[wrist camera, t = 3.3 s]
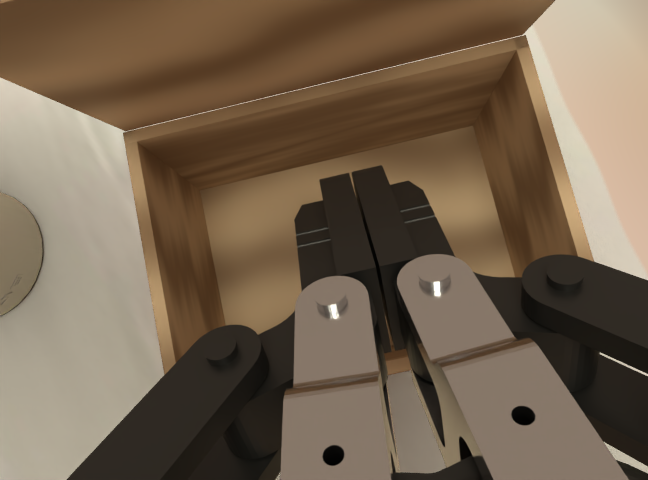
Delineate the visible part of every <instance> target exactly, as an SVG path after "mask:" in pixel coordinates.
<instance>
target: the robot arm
mask: <svg viewBox="0 0 648 480" xmlns="http://www.w3.org/2000/svg"><path fill="white" fill-rule="evenodd" d="M352 179H353V184H354V188H353V185H352V181H351V177H350V174H349V173H345V174H340V175H336V176H332V177H327V178H323V179H319V182H320V187H321V192H322V198H323V200H321V201H317V202H312V203H308V204H304V205H301V207H300V209H299V211H298V213H297V215H296V217H295V219H294V222H295V231H296V241H297V251H298V261H299V270H300V280H301V290H302V292H301V293H300V295H299V296H298V298H297V301H296V304H295V311H294V312H293V313H292V314H291V315H290V316H289V317H288V318H287V319H286V320H284V321H283V322H282V323H280V324H278V325H276V326H275V327H273V328H271V329H269V330H267V331H264V332H262V333H260V334H257V333H256V332H255V331H254V330H253V329H251V328H249V327H247V326H243V325H226V326H222V327H218V328H216V329H213V330H211V331H209V332H208V333H206V334H204V335H203V336H202V337H200V338H199V339H198V340H197V341H196V342H195V343H194V344H193V345H192V346H191V347H190V348H189V349H188V351H187V352H186V353H185V354H184V355H183V356H182V357H181V358H180V359H179V360H178V361H177V362H176V363H175V364H174V366H173V367H172V368H171V369H170V370H169V371H168V372H167V373H166V374H165V375H164V376H163V377H162V378H161V379H160V380H159V382H158V383H157V384H156V385H155V386H154V387H153V388H152V389H151V390H150V391H149V392H148V393H147V394H146V395H145V396H144V398H143V399H142V400H141V401H140V402H139V403H138V404H137V405H136V406H135V407H134V408H133V409H132V410H131V411H130V413H129V414H128V415H127V416H126V417H125V418H124V419H123V420H122V421H121V422H120V423H119V424H118V425H117V426H116V427H115V429H114V430H113V431H112V432H111V433H110V434H109V435H108V436H107V437H106V438H105V439H104V440H103V441H102V442H101V443H100V445H99V446H98V447H97V448H96V449H95V450H94V451H93V452H92V453H91V454H90V455H89V456H88V457H87V458H86V459H85V461H84V462H83V463H82V464H81V465H80V466H79V467H78V468H77V469H76V470H75V471H74V472H73V473H72V474H71V476H70V477H69V478H68V479H67V480H275V479H276V477H277V476H278V474H279V473H280V471H281V474H280V480H648V474H647V473H645V472H643V471H641V470H639V469H637V468H634V467H632V466H630V465H628V464H625V463H623V462H620V461H617V460H615V458H614V457H613V455H612V454H611V453H610V451H609V450H608V448H607V447H606V445H605V444H604V442H605V443H607V444H609V445H611V446H612V447H614V448H616V449H618V450H620V451H621V452H623V453H625V454H627V455H629V456H630V457H632V458H634V459H636V460H637V461H639V462H641V463H643V464H645V465H646V466H648V376H645V375H643V374H641V373H639V372H637V371H634V370H632V369H630V368H628V367H626V366H624V365H621V364H619V363H617V362H615V361H613V360H611V359H608V358H606V357H604V356H602V355H600V354H599V353H600V352H601V353H603V354H606V355H608V356H610V357H612V358H614V359H617V360H619V361H621V362H623V363H625V364H627V365H630V366H632V367H634V368H636V369H638V370H641V371H643V372H645V373H647V374H648V280H645V279H642V278H639V277H636V276H633V275H630V274H628V273H625V272H622V271H619V270H616V269H613V268H610V267H608V266H605V265H602V264H599V263H596V262H593V261H591V260H588V259H585V258H582V257H578V256H573V255H564V254H559V255H549V256H545V257H541V258H539V259H536V260H535V261H533V262H531V263H530V264H529V265H528V266H527V267H526V268H525V270H524V272H523V274H522V277H491V276H485V275H481V274H478V273H475V272H473V271H472V270H471V268H470V267H469V266H468V265H467V264H466V263H465V262H464V261H462V260H461V259H459V258H456V257H455V255H454V253H453V251H452V249H451V247H450V245H449V243H448V240H447V238H446V236H445V234H444V232H443V230H442V228H441V226H440V224H439V222H438V220H437V218H436V217H435V214H434V211H433V209H432V207H431V206H430V203H429V201H428V199H427V197H426V195H425V193H424V191H423V190H422V189H421V188H419V187H418V186H416V185H415V184H413V183H412V182H410V181H404V182H400V183H395V184H391V185H390V184H389V181H388V179H387V176H386V174H385V171H384V169H383V166H382V165H379V166H375V167H371V168H366V169H362V170H357V171H353V172H352ZM354 189H355V192H354ZM355 194H356V195H355ZM42 254H43V250H42V238H41V234H40V231H39V227H38V225H37V223H36V221H35V219H34V217H33V215H32V214H31V213H30V212H29V210H28V209H27V208H26V207H25V206H24V205H23V204H22V203H20V202H19V201H17V200H16V199H15V198H13V197H11V196H8V195H6V194H3V193H1V192H0V316H1V315H3V314H5V313H7V312H9V311H10V310H11V309H12V308H14V307H15V306H16V305H18V304H19V303H20V302H21V301H22V300H23V298H24V297H25V296H26V295H27V294H28V293H29V291H30V289H31V288H32V286H33V284H34V283H35V281H36V278H37V276H38V273H39V270H40V267H41V261H42ZM385 316H386V318H385ZM386 320H387V323H386ZM387 324H388V327H389V331H390V335H391V338H392V342H393V345H394V349H395V351H397V350H402V349H406V351H407V355H408V358H409V361H410V367H411V373H412V379H413V382H414V385H415V388H416V390H417V393H418V395H419V398H420V400H421V403H422V405H423V408H424V410H425V413H426V416H427V418H428V421H429V423H430V426H431V428H432V431H433V433H434V436H435V438H436V441H437V444H438V446H439V449H440V451H441V454H442V456H443V459H444V462H445V465H446V468H445V469H443V470H441V471H439V472H436V473H430V474H424V473H401V472H400V467H399V460H398V454H397V447H396V440H395V433H394V426H393V420H392V413H391V406H390V399H389V393H388V387H387V382H386V381H387V377H388V371H387V365H386V360H385V355H384V353H389V352H392V350H391V345H390V339H389V334H388V329H387Z"/></svg>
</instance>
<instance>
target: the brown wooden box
mask: <svg viewBox="0 0 648 480" xmlns="http://www.w3.org/2000/svg"><path fill="white" fill-rule="evenodd" d="M123 136H124V141H125V147H126V153H127V159H128V165H129V171H130V176H131V182H132V188H133V194H134V200H135V205H136V211H137V217H138V223H139V229H140V235H141V240H142V246H143V252H144V258H145V264H146V269H147V275H148V281H149V287H150V293H151V299H152V304H153V310H154V316H155V322H156V328H157V333H158V339H159V345H160V351H161V357H162V362H163V368H164V374H166V373H167V372H168V371H169V370H170V369H171V368H172V367H173V366H174V364H175V363H176V362H177V361H178V360H179V359H180V358H181V357H182V356H183V355H184V354H185V353H186V352H187V351H188V349H189V348H190V347H191V346H192V345H193V344H194V343H195V342H196V341H197V340H198V339H199V338H200V337H202V336H203V335H204V334H206V333H208V332H209V331H211V330H213V329H216V328H218V327H222V326H226V325H243V326H247V327H249V328H251V329H253V330H254V331H255V332H256V333H257V334H260V333H262V332H264V331H267V330H269V329H271V328H273V327H275V326H276V325H278V324H280V323H282V322H283V321H284V320H286V319H287V318H288V317H289V316H290V315H291V314H292V313H293V312H294V311H295V304H296V301H297V298H298V296H299V295H300V293H301V292H302V290H301V280H300V270H299V261H298V251H297V241H296V231H295V222H294V219H295V217H296V215H297V213H298V211H299V209H300V207H301V205H304V204H308V203H312V202H317V201H321V200H323V198H322V192H321V187H320V182H319V179H323V178H327V177H332V176H336V175H340V174H345V173H349V174H350V177H351V181H352V185H353V188H354V184H353V179H352V172H353V171H357V170H362V169H366V168H371V167H375V166H379V165H382V166H383V169H384V171H385V174H386V176H387V179H388V181H389V184H390V185H391V184H395V183H400V182H404V181H410V182H412V183H413V184H415V185H416V186H418V187H419V188H421V189H422V190H423V191H424V193H425V195H426V197H427V199H428V201H429V203H430V206H431V207H432V209H433V211H434V214H435V217H436V218H437V220H438V222H439V224H440V226H441V228H442V230H443V232H444V234H445V236H446V238H447V240H448V243H449V245H450V247H451V249H452V251H453V253H454V255H455V257H456V258H459V259H461V260H462V261H464V262H465V263H466V264H467V265H468V266H469V267H470V268H471V270H472V271H473V272H475V273H478V274H481V275H485V276H491V277H522V274H523V272H524V270H525V268H526V267H527V266H528V265H529V264H530V263H531V262H533V261H535V260H536V259H539V258H541V257H545V256H549V255H559V254H564V255H573V256H578V257H582V258H585V259H588V260H591V261H593V262H594V260H593V257H592V253H591V250H590V247H589V243H588V240H587V237H586V233H585V230H584V227H583V223H582V220H581V217H580V214H579V210H578V207H577V204H576V200H575V197H574V194H573V190H572V187H571V184H570V180H569V177H568V174H567V170H566V167H565V164H564V160H563V157H562V154H561V150H560V147H559V144H558V141H557V137H556V134H555V131H554V127H553V124H552V121H551V117H550V114H549V111H548V107H547V104H546V101H545V97H544V94H543V91H542V87H541V84H540V81H539V78H538V74H537V71H536V68H535V64H534V61H533V58H532V54H531V51H530V48H529V44H528V41H527V38H526V35H524V36H520V37H516V38H512V39H508V40H504V41H499V42H495V43H491V44H487V45H483V46H479V47H475V48H471V49H466V50H462V51H458V52H454V53H450V54H446V55H442V56H438V57H433V58H429V59H425V60H421V61H417V62H413V63H409V64H405V65H401V66H396V67H392V68H388V69H384V70H380V71H376V72H372V73H368V74H363V75H359V76H355V77H351V78H347V79H343V80H339V81H335V82H330V83H326V84H322V85H318V86H314V87H310V88H306V89H302V90H297V91H293V92H289V93H285V94H281V95H277V96H273V97H269V98H264V99H260V100H256V101H252V102H248V103H244V104H240V105H236V106H231V107H227V108H223V109H219V110H215V111H211V112H207V113H203V114H199V115H194V116H190V117H186V118H182V119H178V120H174V121H170V122H166V123H161V124H157V125H153V126H149V127H145V128H141V129H137V130H133V131H128V132H124V133H123ZM354 192H355V189H354ZM355 195H356V194H355ZM385 318H386V316H385ZM386 323H387V320H386ZM387 329H388V334H389V339H390V345H391V350H392V352H389V353H384V355H385V360H386V365H387V371H388V375H391V374H395V373H400V372H404V371H409V370H411V367H410V361H409V358H408V355H407V351H406V349H402V350H397V351H395V349H394V345H393V342H392V338H391V335H390V331H389V327H388V324H387Z"/></svg>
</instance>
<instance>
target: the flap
mask: <svg viewBox="0 0 648 480" xmlns="http://www.w3.org/2000/svg"><path fill="white" fill-rule="evenodd" d="M554 1H555V0H0V77H1V78H3V79H5V80H8V81H10V82H12V83H15V84H17V85H19V86H22V87H24V88H26V89H29V90H31V91H33V92H36V93H38V94H40V95H43V96H45V97H47V98H50V99H52V100H54V101H57V102H59V103H61V104H64V105H66V106H68V107H71V108H73V109H75V110H78V111H80V112H82V113H85V114H87V115H89V116H92V117H94V118H96V119H99V120H101V121H103V122H106V123H108V124H110V125H113V126H115V127H117V128H120V129H122V130H124V131H128V130H132V129H136V128H140V127H144V126H149V125H153V124H157V123H161V122H165V121H169V120H173V119H177V118H182V117H186V116H190V115H194V114H198V113H202V112H206V111H210V110H214V109H219V108H223V107H227V106H231V105H235V104H239V103H243V102H247V101H252V100H256V99H260V98H264V97H268V96H272V95H276V94H280V93H285V92H289V91H293V90H297V89H301V88H305V87H309V86H313V85H318V84H322V83H326V82H330V81H334V80H338V79H342V78H346V77H350V76H355V75H359V74H363V73H367V72H371V71H375V70H379V69H383V68H388V67H392V66H396V65H400V64H404V63H408V62H412V61H416V60H421V59H425V58H429V57H433V56H437V55H441V54H445V53H449V52H454V51H458V50H462V49H466V48H470V47H474V46H478V45H482V44H486V43H491V42H495V41H499V40H503V39H507V38H511V37H515V36H519V35H523V34H524V33H525V32H526V31H527V29H528V28H529V27H530V26H531V25H532V24H533V23H534V22H535V21H536V20H537V19H538V18H539V17H540V16H541V15H542V14H543V13H544V12H545V11H546V9H547V8H548V7H549V6H550V5H551V4H552V3H553V2H554Z"/></svg>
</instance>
